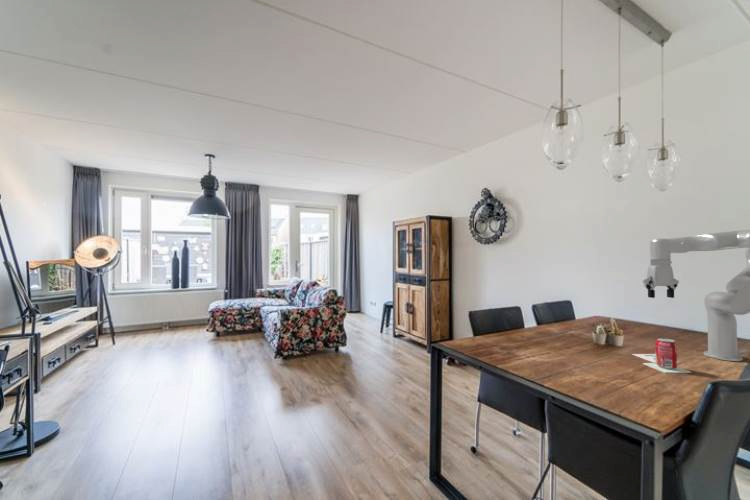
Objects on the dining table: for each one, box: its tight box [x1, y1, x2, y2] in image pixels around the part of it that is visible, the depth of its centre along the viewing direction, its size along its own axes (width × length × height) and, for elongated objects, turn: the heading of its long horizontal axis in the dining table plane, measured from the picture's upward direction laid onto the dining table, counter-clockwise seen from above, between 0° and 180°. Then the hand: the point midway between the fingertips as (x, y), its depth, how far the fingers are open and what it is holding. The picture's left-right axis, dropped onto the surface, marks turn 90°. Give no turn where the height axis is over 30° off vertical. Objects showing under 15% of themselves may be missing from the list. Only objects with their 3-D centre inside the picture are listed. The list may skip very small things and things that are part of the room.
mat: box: [642, 362, 692, 374], centre depth 137 cm, size 11×11×1 cm
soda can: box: [654, 337, 678, 369], centre depth 137 cm, size 7×7×12 cm
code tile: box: [631, 353, 680, 364], centre depth 150 cm, size 12×12×1 cm
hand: (660, 297), depth 157 cm, fingers open, 9 cm apart
